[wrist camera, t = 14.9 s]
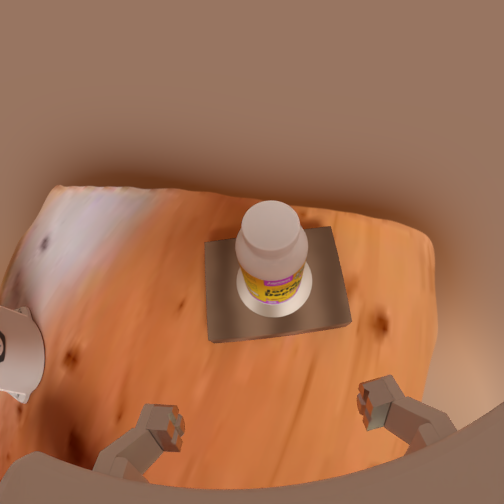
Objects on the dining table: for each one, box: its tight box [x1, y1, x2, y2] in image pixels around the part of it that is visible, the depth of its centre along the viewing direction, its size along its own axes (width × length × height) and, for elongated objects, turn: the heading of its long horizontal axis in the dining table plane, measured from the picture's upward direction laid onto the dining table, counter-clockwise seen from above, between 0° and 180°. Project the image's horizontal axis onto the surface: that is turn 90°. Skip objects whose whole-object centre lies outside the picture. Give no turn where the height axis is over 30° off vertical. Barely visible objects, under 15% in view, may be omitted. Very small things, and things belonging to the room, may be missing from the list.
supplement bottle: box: [235, 200, 308, 305], centre depth 27 cm, size 7×7×13 cm
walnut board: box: [205, 226, 352, 343], centre depth 35 cm, size 17×13×3 cm
